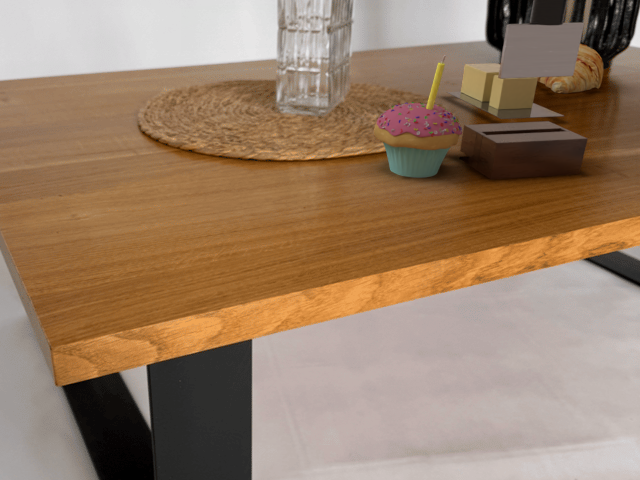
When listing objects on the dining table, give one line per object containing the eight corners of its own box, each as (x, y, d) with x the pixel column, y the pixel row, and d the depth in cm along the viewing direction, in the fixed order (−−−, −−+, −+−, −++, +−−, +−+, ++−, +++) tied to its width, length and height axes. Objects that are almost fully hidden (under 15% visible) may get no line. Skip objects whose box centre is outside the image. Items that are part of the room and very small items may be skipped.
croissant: (574, 126, 102) (614, 80, 97) (518, 88, 103) (554, 40, 98) (583, 95, 119) (617, 55, 114) (534, 63, 120) (566, 21, 115)
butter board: (445, 100, 102) (450, 63, 99) (500, 98, 103) (507, 62, 101) (499, 128, 88) (507, 86, 85) (562, 125, 89) (572, 84, 87)
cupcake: (470, 173, 71) (489, 52, 66) (423, 192, 66) (440, 63, 60) (401, 155, 77) (414, 42, 71) (353, 171, 71) (363, 51, 66)
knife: (563, 72, 70) (595, -83, 64) (580, 78, 68) (616, -83, 61) (491, 75, 69) (517, -83, 62) (506, 81, 66) (535, -84, 60)
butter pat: (488, 105, 94) (493, 75, 92) (522, 104, 94) (527, 74, 93) (498, 109, 91) (503, 78, 90) (532, 108, 92) (538, 77, 90)
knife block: (541, 156, 77) (548, 121, 75) (578, 176, 71) (588, 138, 69) (458, 161, 75) (464, 124, 73) (490, 182, 69) (496, 143, 67)
